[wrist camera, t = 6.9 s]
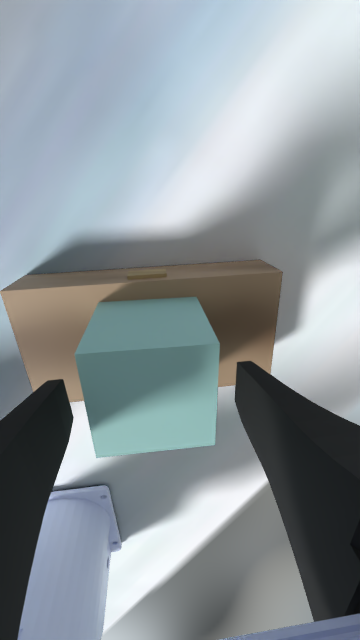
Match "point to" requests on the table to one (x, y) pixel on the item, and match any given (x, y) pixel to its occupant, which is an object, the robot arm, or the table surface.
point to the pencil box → (140, 284)
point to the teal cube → (149, 376)
